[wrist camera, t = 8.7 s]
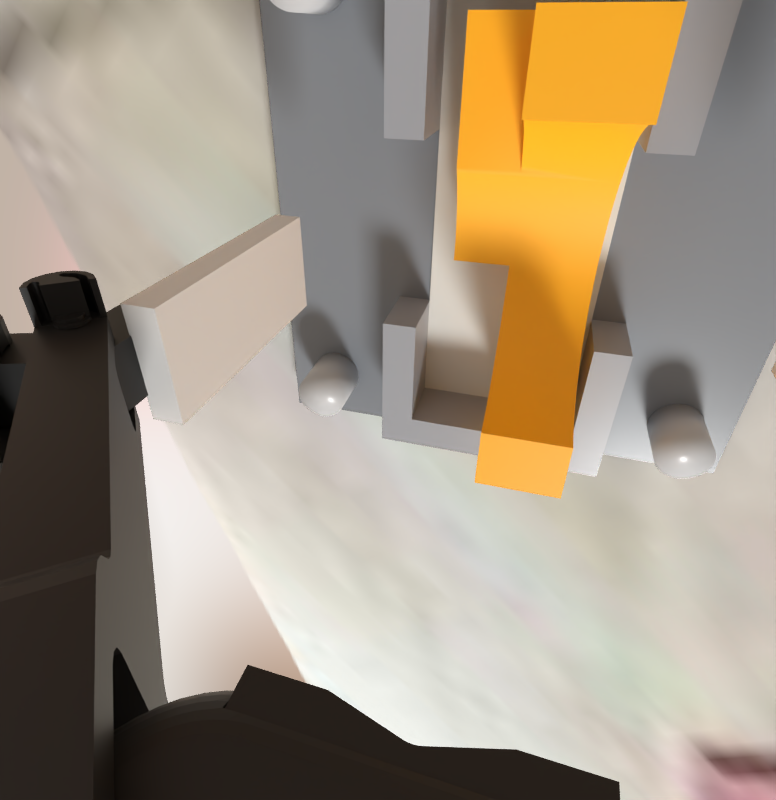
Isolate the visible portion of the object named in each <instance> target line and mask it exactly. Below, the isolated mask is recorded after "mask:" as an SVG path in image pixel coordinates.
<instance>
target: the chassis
mask: <svg viewBox="0 0 776 800" xmlns="http://www.w3.org/2000/svg"><path fill="white" fill-rule="evenodd" d="M679 1H688V3H687V7H686V11H685V15H684V19H683V23H682V27H681V30H680V34H679V38H678V42H677V46H676V50H675V54H674V58H673V62H672V66H671V69H670V73H669V77H668V81H667V85H666V89H665V93H664V97H663V101H662V105H661V109H660V112H659V116H658V120H657V124H656V125H648V126H647V127H646V128H645V130H644V131H643V132H642V134H641V135H640V137H639V139H638V141H637V142H636V145H635V147H634V149H633V151H632V153H631V156H630V158H629V160H628V163H627V166H626V168H625V171H624V174H623V177H622V179H621V182H620V185H619V189H618V192H617V195H616V198H615V201H614V205H613V208H612V212H611V215H610V219H609V222H608V226H607V230H606V234H605V238H604V242H603V246H602V250H601V254H600V258H599V262H598V267H597V271H596V276H595V281H594V285H593V290H592V295H591V300H590V306H589V311H588V316H587V322H586V328H585V334H584V340H583V346H582V353H581V360H580V367H579V375H578V383H577V392H576V403H575V415H574V436H573V452H572V456H571V460H570V464H569V468H568V471H567V472H573V473H578V474H584V475H589V476H595V477H596V475H597V472H598V469H599V466H600V462H601V459H602V456H603V455H609V456H615V457H621V458H627V459H632V460H638V461H644V462H650V463H655V466H656V467H657V469H658V470H659V471H660V472H662V473H663V474H665V475H667V476H669V477H673V478H678V479H688V478H694V477H697V476H700V475H702V474H704V473H706V472H708V473H714V471H715V469H716V467H717V464H718V462H719V460H720V458H721V456H722V454H723V452H724V450H725V447H726V445H727V443H728V441H729V439H730V437H731V435H732V433H733V430H734V428H735V426H736V424H737V422H738V420H739V418H740V416H741V413H742V411H743V409H744V407H745V405H746V403H747V401H748V399H749V396H750V394H751V392H752V390H753V388H754V386H755V384H756V382H757V379H758V377H759V375H760V373H761V371H762V369H763V367H764V365H765V363H766V360H767V358H768V356H769V354H770V352H771V350H772V348H773V346H774V343H775V341H776V0H259V2H260V12H261V22H262V32H263V42H264V52H265V62H266V72H267V82H268V92H269V102H270V112H271V122H272V132H273V142H274V152H275V162H276V172H277V182H278V192H279V202H280V212H281V215H285V216H295V217H300V225H301V238H302V251H303V264H304V276H305V289H306V302H307V306H306V307H305V308H304V309H303V310H302V311H301V312H300V313H299V314H298V315H297V316H296V317H295V318H294V319H292V320H291V322H292V332H293V342H294V352H295V361H296V371H297V381H298V391H299V401H300V402H301V403H303V404H304V406H305V407H306V408H307V409H309V410H310V411H311V412H313V413H315V414H317V415H320V416H333V415H336V414H337V413H339V412H340V411H341V410H347V411H353V412H359V413H365V414H370V415H376V416H382V438H385V439H390V440H396V441H401V442H407V443H412V444H418V445H423V446H429V447H434V448H440V449H445V450H451V451H456V452H462V453H468V454H473V455H478V452H479V445H480V437H481V431H482V426H483V421H484V416H485V411H486V406H487V401H488V395H489V390H490V384H491V379H492V373H493V367H494V361H495V355H496V349H497V343H498V337H499V331H500V325H501V318H502V312H503V305H504V299H505V292H506V285H507V278H508V271H509V266H507V265H497V264H486V263H476V262H466V261H456V260H454V252H455V239H456V220H457V155H458V141H459V127H460V113H461V99H462V85H463V71H464V57H465V43H466V29H467V15H468V10H536V3H547V2H679Z"/></svg>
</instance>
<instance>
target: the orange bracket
mask: <svg viewBox="0 0 776 800" xmlns="http://www.w3.org/2000/svg"><path fill="white" fill-rule="evenodd" d="M687 3H688V1H679V2H547V3H536V10H468V15H467V29H466V43H465V57H464V71H463V85H462V99H461V113H460V127H459V141H458V155H457V220H456V239H455V252H454V260H456V261H466V262H476V263H486V264H497V265H507V266H509V271H508V278H507V285H506V292H505V299H504V305H503V312H502V318H501V325H500V331H499V337H498V343H497V349H496V355H495V361H494V367H493V373H492V379H491V384H490V390H489V395H488V401H487V406H486V411H485V416H484V421H483V426H482V431H481V437H480V445H479V452H478V460H477V468H476V476H475V483H481V484H486V485H491V486H497V487H502V488H507V489H513V490H518V491H523V492H529V493H534V494H539V495H545V496H550V497H555V498H561V495H562V491H563V487H564V483H565V479H566V475H567V471H568V468H569V464H570V460H571V456H572V452H573V436H574V415H575V403H576V392H577V383H578V375H579V367H580V360H581V353H582V346H583V340H584V334H585V328H586V322H587V316H588V311H589V306H590V300H591V295H592V290H593V285H594V281H595V276H596V271H597V267H598V262H599V258H600V254H601V250H602V246H603V242H604V238H605V234H606V230H607V226H608V222H609V219H610V215H611V212H612V208H613V205H614V201H615V198H616V195H617V192H618V189H619V185H620V182H621V179H622V177H623V174H624V171H625V168H626V166H627V163H628V160H629V158H630V156H631V153H632V151H633V149H634V147H635V145H636V142H637V141H638V139H639V137H640V135H641V134H642V132H643V131H644V130H645V128H646V127H647V126H648V125H656V124H657V120H658V116H659V112H660V109H661V105H662V101H663V97H664V93H665V89H666V85H667V81H668V77H669V73H670V69H671V66H672V62H673V58H674V54H675V50H676V46H677V42H678V38H679V34H680V30H681V27H682V23H683V19H684V15H685V11H686V7H687Z"/></svg>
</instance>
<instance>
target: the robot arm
mask: <svg viewBox="0 0 776 800" xmlns="http://www.w3.org/2000/svg"><path fill="white" fill-rule="evenodd" d="M19 289H20V292H21V295H22V297H23V299H24V302H25V305H26V307H27V310H28V312H29V315H30V317H31V320H32V322H33V325H34V327H35V328H34V332H33V333H17V334H10V333H9V331H8V329H7V326H6V324H5V322H4V319H3V317H2V316H1V315H0V800H620V789H619V782H617V781H614V780H611V779H608V778H605V777H601V776H598V775H595V774H592V773H589V772H586V771H582V770H579V769H576V768H573V767H570V766H567V765H563V764H560V763H557V762H554V761H551V760H548V759H544V758H541V757H538V756H535V755H532V754H529V753H525V752H522V751H519V750H511V749H484V748H456V747H429V746H417V745H413V744H410V743H408V742H406V741H404V740H402V739H401V738H399V737H398V736H396V735H395V734H393V733H392V732H390V731H389V730H387V729H386V728H384V727H383V726H381V725H380V724H378V723H377V722H375V721H374V720H372V719H371V718H369V717H368V716H366V715H365V714H363V713H362V712H360V711H359V710H357V709H356V708H354V707H353V706H351V705H350V704H348V703H347V702H345V701H343V700H342V699H340V698H339V697H337V696H336V695H334V694H333V693H331V692H330V691H328V690H326V689H323V688H320V687H316V686H313V685H310V684H307V683H304V682H301V681H297V680H294V679H291V678H288V677H285V676H282V675H278V674H275V673H272V672H269V671H265V670H262V669H259V668H256V667H253V666H250V665H247V667H246V669H245V671H244V673H243V675H242V677H241V679H240V680H239V682H238V684H237V686H236V688H235V690H234V691H219V692H209V693H203V694H198V695H194V696H190V697H186V698H181V699H178V700H176V701H173V702H170V703H168V701H167V697H166V692H165V687H164V679H163V672H162V671H163V670H162V659H161V648H160V639H159V627H158V617H157V605H156V594H155V583H154V573H153V562H152V551H151V541H150V530H149V519H148V508H147V497H146V487H145V476H144V466H143V454H142V443H141V433H140V422H139V418H138V414H137V411H136V408H135V406H136V405H137V404H138V403H139V402H140V401H142V400H143V399H144V398H145V397H147V398H148V402H149V405H150V409H151V412H152V415H153V419H156V420H161V421H166V422H171V423H175V424H180V425H184V424H185V423H186V422H187V421H188V420H189V419H190V418H191V417H192V416H193V415H195V414H196V413H197V412H198V411H199V410H200V409H201V408H202V407H203V406H204V405H205V404H206V403H207V402H208V401H209V400H210V399H211V398H212V397H213V396H214V395H215V394H216V393H217V392H218V391H219V390H220V389H221V388H222V387H223V386H224V385H225V384H226V383H228V382H229V381H230V380H231V379H232V378H233V377H234V376H235V375H236V374H237V373H238V372H239V371H240V370H241V369H242V368H243V367H244V366H245V365H246V364H247V363H248V362H249V361H250V360H251V359H252V358H253V357H254V356H255V355H256V354H257V353H258V352H259V351H261V350H262V349H263V348H264V347H265V346H266V345H267V344H268V343H269V342H270V341H271V340H272V339H273V338H274V337H275V336H276V335H277V334H278V333H279V332H280V331H281V330H282V329H283V328H284V327H285V326H286V325H287V324H288V323H289V322H290V321H291V320H292V319H294V318H295V317H296V316H297V315H298V314H299V313H300V312H301V311H302V310H303V309H304V308H305V307H306V306H307V302H306V289H305V276H304V264H303V251H302V238H301V225H300V217H295V216H285V215H274V216H272V217H271V218H269V219H267V220H265V221H264V222H262V223H260V224H258V225H257V226H255V227H253V228H251V229H250V230H248V231H246V232H244V233H243V234H241V235H239V236H237V237H236V238H234V239H232V240H231V241H229V242H227V243H225V244H224V245H222V246H220V247H218V248H217V249H215V250H213V251H211V252H210V253H208V254H206V255H204V256H203V257H201V258H199V259H197V260H196V261H194V262H192V263H190V264H189V265H187V266H185V267H183V268H182V269H180V270H178V271H176V272H175V273H173V274H171V275H169V276H168V277H166V278H164V279H162V280H161V281H159V282H157V283H155V284H154V285H152V286H150V287H148V288H147V289H145V290H143V291H141V292H140V293H138V294H136V295H134V296H133V297H131V298H129V299H127V300H126V301H124V302H122V303H120V305H118V306H117V307H115V308H113V309H111V310H110V311H108V312H106V310H105V307H104V303H103V300H102V297H101V294H100V290H99V287H98V284H97V280H96V278H95V276H94V275H93V274H91V273H88V272H83V271H63V272H62V271H61V272H55V273H49V274H45V275H42V276H38V277H35V278H32V279H30V280H28V281H26V282H24V283H23V284H22V285H21V287H19ZM771 371H772V373H773V374H774V376H775V378H776V362H775V364H774V366H773V368H772V370H771Z"/></svg>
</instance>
